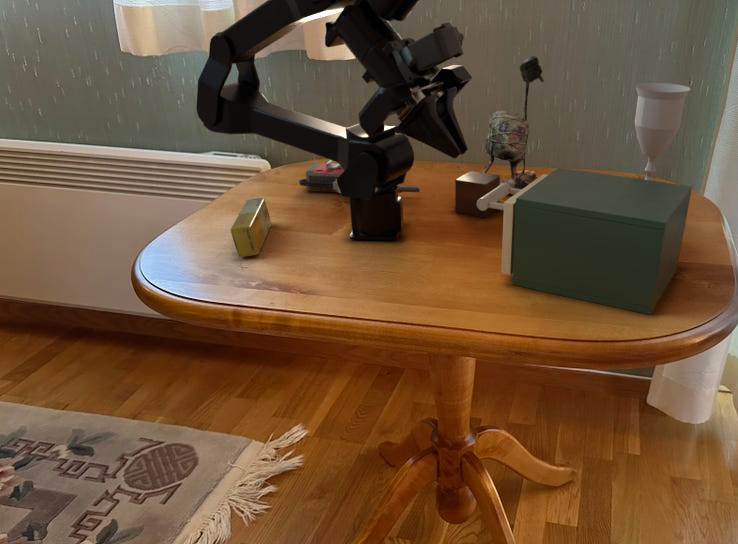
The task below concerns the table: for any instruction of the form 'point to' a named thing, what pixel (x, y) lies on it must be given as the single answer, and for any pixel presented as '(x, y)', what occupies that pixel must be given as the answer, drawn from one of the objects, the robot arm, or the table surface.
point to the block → (474, 192)
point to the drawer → (506, 217)
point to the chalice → (658, 118)
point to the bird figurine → (513, 132)
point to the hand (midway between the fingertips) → (461, 154)
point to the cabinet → (599, 237)
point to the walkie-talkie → (332, 178)
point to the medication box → (251, 227)
